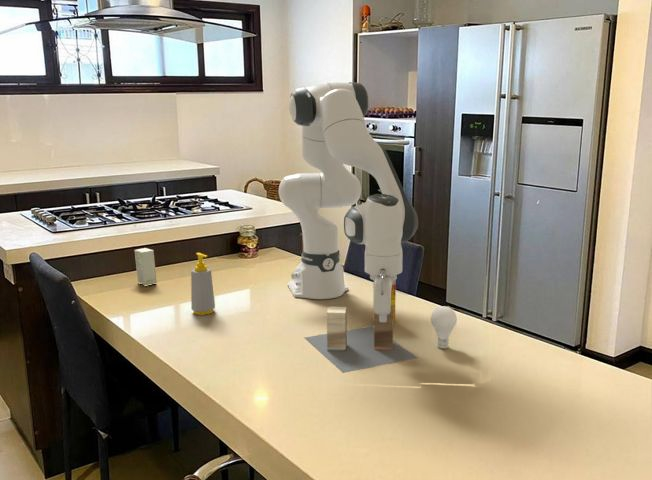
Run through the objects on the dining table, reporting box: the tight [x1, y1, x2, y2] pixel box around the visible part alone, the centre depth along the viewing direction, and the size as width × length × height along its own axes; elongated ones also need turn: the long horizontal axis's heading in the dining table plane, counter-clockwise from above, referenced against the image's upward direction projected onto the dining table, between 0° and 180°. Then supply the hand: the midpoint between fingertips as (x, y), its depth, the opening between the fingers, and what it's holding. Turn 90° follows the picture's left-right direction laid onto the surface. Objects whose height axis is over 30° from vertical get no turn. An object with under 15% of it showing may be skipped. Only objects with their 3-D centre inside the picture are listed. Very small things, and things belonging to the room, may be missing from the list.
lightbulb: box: [430, 305, 458, 350], centre depth 156 cm, size 6×6×11 cm
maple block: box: [326, 306, 348, 352], centre depth 157 cm, size 4×4×10 cm
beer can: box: [372, 279, 397, 323], centre depth 175 cm, size 6×6×15 cm
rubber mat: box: [304, 325, 419, 374], centre depth 158 cm, size 24×20×1 cm
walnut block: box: [373, 306, 394, 350], centre depth 158 cm, size 4×4×10 cm
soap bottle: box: [190, 252, 216, 316], centre depth 185 cm, size 7×7×18 cm
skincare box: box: [134, 247, 158, 285], centre depth 216 cm, size 6×4×12 cm
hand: (383, 320), depth 151 cm, fingers closed
